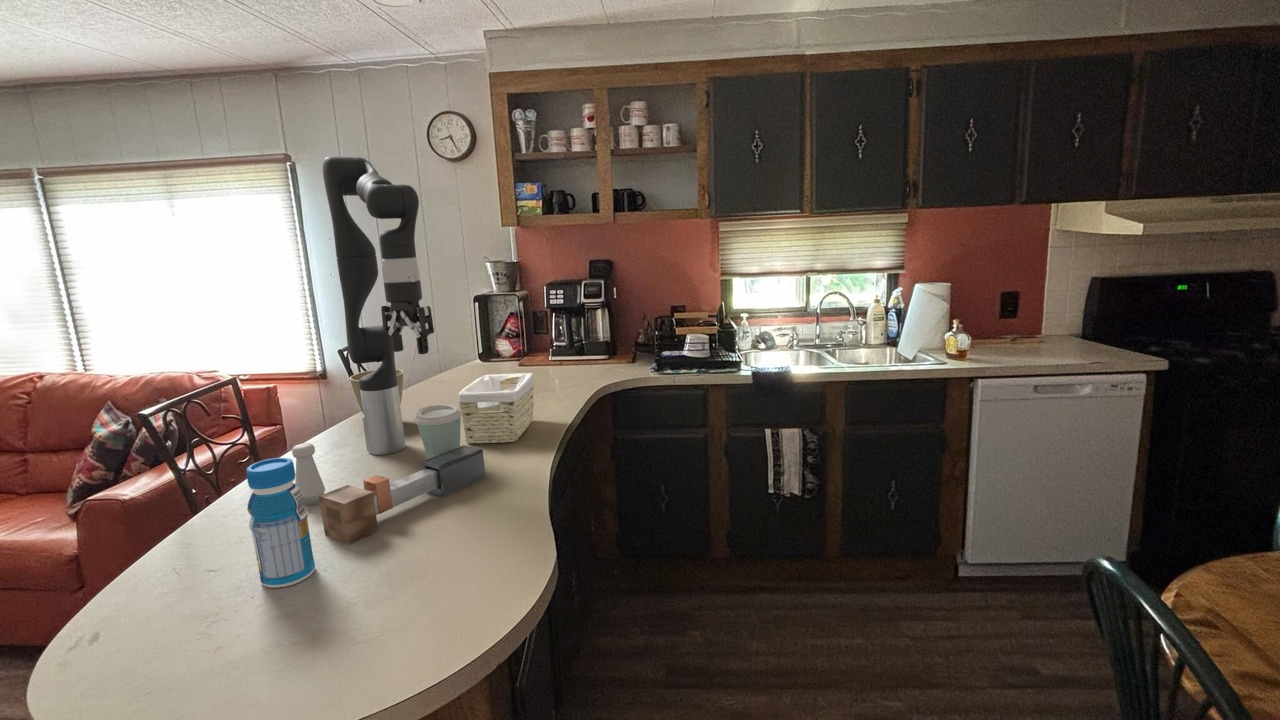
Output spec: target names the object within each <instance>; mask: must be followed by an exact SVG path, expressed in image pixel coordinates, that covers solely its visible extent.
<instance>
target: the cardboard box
mask: <svg viewBox="0 0 1280 720" xmlns="http://www.w3.org/2000/svg"><path fill="white" fill-rule="evenodd" d="M319 500H320V502H319V503H320V504H319V506H320V512H321V518H322V524H323V530H324V535H325V536H327V537H330V538H332V539H335V540H336V541H337V540H338V541H341V542H343V543H346V544H348V545H352V544H353V543H356V542H358V541H360V540H362V539H364V538H367V537H368V536H371V535H373V534H375V533H377V532H378V531H379V525H378V518H377V515H376V510H375V503H374V496H373V492H371V491H368V490H364V489H363V488H360V487H356V486H353V485H350V484H347V485H344V486H341V487H338V488H336V489H333V490H331V491H329V492H326V493H325V492H324V494H323V495H320V496H319Z"/></svg>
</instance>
